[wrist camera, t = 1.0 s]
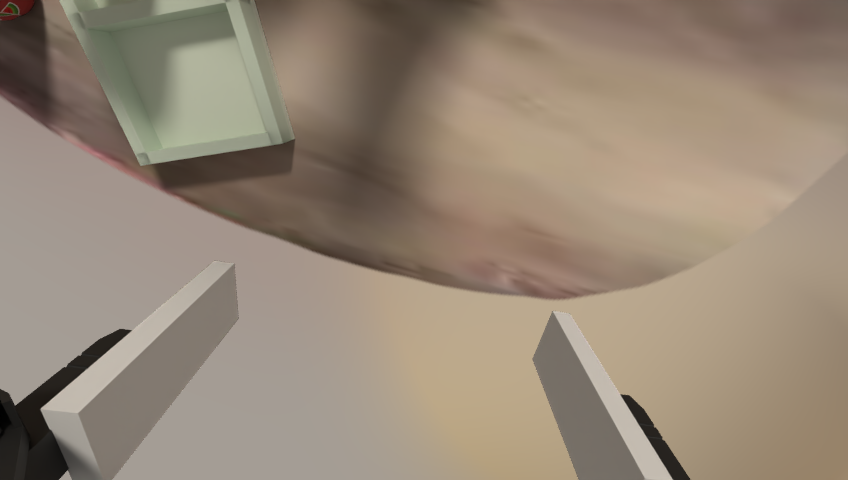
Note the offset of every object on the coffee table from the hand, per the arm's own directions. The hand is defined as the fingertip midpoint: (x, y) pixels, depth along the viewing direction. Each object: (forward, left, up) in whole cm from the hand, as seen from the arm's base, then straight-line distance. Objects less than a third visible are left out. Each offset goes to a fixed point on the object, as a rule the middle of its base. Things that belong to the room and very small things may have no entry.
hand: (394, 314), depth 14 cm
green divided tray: (-18, -20, -27) cm, 38 cm away
